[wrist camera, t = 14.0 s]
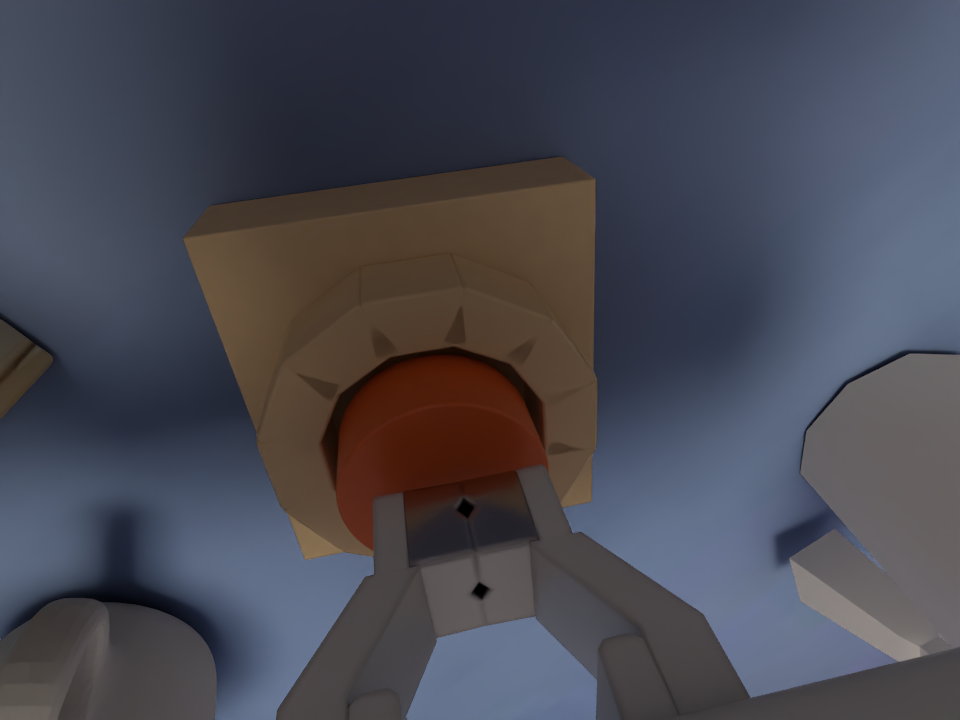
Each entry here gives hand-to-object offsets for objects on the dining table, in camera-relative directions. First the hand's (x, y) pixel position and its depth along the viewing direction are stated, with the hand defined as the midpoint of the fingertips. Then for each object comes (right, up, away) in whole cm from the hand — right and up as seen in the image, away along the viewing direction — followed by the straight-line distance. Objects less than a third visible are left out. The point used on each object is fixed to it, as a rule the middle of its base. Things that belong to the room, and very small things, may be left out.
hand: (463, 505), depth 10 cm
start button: (-1, +1, +2) cm, 2 cm away
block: (-1, +3, +5) cm, 6 cm away
